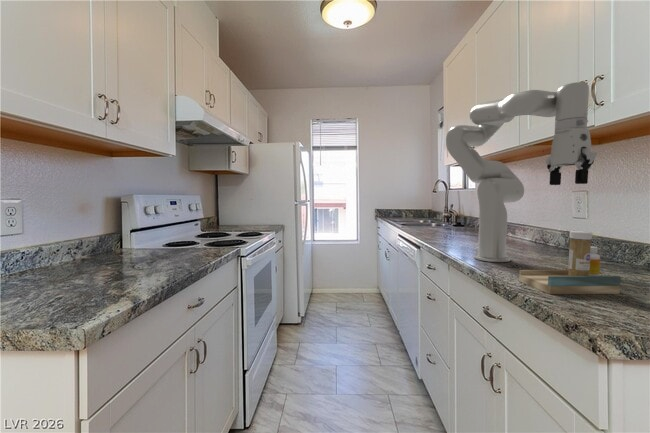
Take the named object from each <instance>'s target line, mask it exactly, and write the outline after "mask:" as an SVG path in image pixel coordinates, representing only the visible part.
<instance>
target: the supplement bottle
mask: <svg viewBox="0 0 650 433" xmlns="http://www.w3.org/2000/svg"><path fill="white" fill-rule="evenodd" d="M598 250H599V249H598V247H597V246H593V245H591V248H590V270H589V276H600V270H601V268H600V267H601V255H599V254H597V253H598V252H599V251H598Z"/></svg>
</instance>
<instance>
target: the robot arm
mask: <svg viewBox="0 0 650 433" xmlns="http://www.w3.org/2000/svg"><path fill="white" fill-rule="evenodd" d="M589 94H590V85H589V84H588V83H587V82H584V81H576V82H571V83H566V84H563V85H562V86H560V87H559V88H558V89H557V91H549V90H542V89H529V90H525V91H520V92H515V93H511V94H509V95H507V96H506V97H505V98H501V99H498V100H497V99H496V100H493V101H492V100H491V101H486V102H482V103H479V104H476V105H475V106H473V107H472V108H471V110H470V112H469V119H470V121H471V122H472V123H473V124H474V125H467V124H466V125H465V124H459V125H454V126H452V127H451V128H450V129H449V130H448V131H447V133H446V136H445V146H446V149H447V151H448V154H450V156H451V157H452V158H453V159H454V161H456V163H457V164H458V166H459V167H460V168H461V169H462V171H463V172H464V173H465V174H466V176H467V178H468V179H469V181H471V182H472V183H475V184H478V186H477V189H476V190H477V191H476V192H477V193H476V195H477V199H478V207H479V208H478V209H479V210H478V211H479V214H478V215H479V216H478V242H477V244H478V246H476V250H477V253H474V254H473V258H474V259H475V260H478V261H483V262H488V263H491V262H492V263H508V262H510V261H511V257H510V256H508V255H507V232H508V231H507V230H508V209H507V208H506V205H505V203H506V204H507V203H509V204H510V203H511V204H512V203H516V202H518V201H520V200H521V199H522V198H523V197H524V194H525V186H524V184H523V182H522V181H521V179H520V178H519V177H518V176H517V175H516V174H515V173H514V172H513V171H512V169H510V167H508V165H506V163H503V162H501V161H499V160H491V159H490V160H487V159H485V158H483V157H482V156H481V155H480V153H479V152H478V151H477V150H476V149H474V148H473V147H481V146H483V145H485V144H486V143H488V141H489V140H491V138H492V137H493V136H494V135H495V133H497V132H498V130H499V129H500V128H502V126H503V125H504V124H506V123H509V122H511V121H512V120H514V118H515V117H518V116H520V117H521V116H536V117H543V118H554V119H555V120H554V135H553V137H552V143H551V151H550V156H548V157H547V158H546V159H545V164H546V168H547V170H548V173H549V186H560V185H561V181H562V172H561V170H562V169H563V167H564V166H565V167H567V166H568V167H569V166H570V167H571V166H575V167H576V168H577V169H576V170H575V174H574V176H575V178H574V184H576V185H586V184H588V182H589V181H588V180H589V171H590V169H591V168H592V165H593V164H594V162H595V159H596V157H597V155H598V153H597V152H596V151H594V150H592V139H591V133H590V132H591V131H590V130H589V129H590V128H588V122H589V120H588V114H589V97H590V95H589ZM475 125H477V126H475Z"/></svg>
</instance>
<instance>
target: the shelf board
mask: <svg viewBox="0 0 650 433" xmlns="http://www.w3.org/2000/svg"><path fill="white" fill-rule="evenodd" d="M568 272H569V269H519V271H518V274H519V275H518V282H521V283H523V284H526V285H527V286H530V287H532V288H534V289H537V290H540V291H542V292H544V293H546V294H549V295H596V294H597V295H602V294H604V295H607V294H609V295H610V294H611V295H613V294H614V295H616V294H617V295H620V294H621V281H622V279H621V278H622V277H621V276H620V275H599V276H568Z"/></svg>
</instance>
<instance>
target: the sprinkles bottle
mask: <svg viewBox="0 0 650 433" xmlns="http://www.w3.org/2000/svg"><path fill="white" fill-rule="evenodd" d="M592 240H593V233H592V231H587V230H570V231H569V251H568V253H569V254H568V270H569V272H568V276H589V270H590V248H591V246H592Z"/></svg>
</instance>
